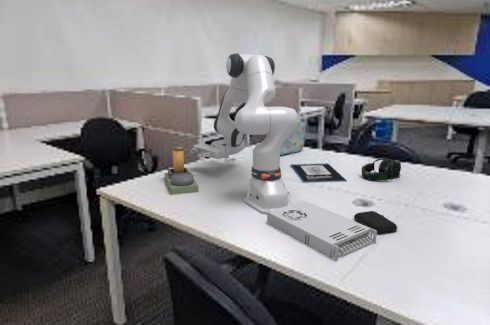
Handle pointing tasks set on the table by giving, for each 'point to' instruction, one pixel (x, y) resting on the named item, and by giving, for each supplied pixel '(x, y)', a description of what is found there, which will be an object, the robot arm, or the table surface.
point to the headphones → (382, 170)
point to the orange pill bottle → (178, 159)
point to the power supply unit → (322, 229)
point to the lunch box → (294, 140)
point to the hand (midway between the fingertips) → (196, 153)
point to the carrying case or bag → (375, 221)
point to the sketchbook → (317, 173)
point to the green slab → (181, 182)
